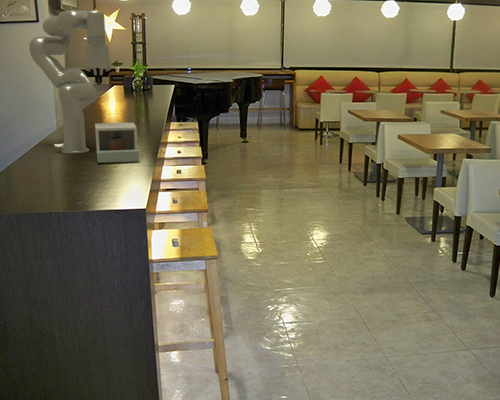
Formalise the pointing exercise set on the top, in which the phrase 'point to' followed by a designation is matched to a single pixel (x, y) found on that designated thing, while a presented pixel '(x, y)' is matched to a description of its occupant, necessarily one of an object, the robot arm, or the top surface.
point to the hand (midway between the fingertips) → (98, 84)
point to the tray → (117, 155)
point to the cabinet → (107, 128)
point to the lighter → (116, 141)
